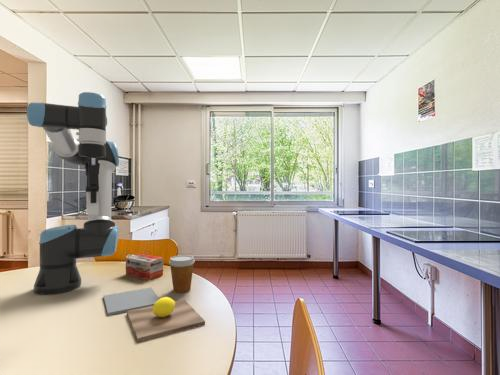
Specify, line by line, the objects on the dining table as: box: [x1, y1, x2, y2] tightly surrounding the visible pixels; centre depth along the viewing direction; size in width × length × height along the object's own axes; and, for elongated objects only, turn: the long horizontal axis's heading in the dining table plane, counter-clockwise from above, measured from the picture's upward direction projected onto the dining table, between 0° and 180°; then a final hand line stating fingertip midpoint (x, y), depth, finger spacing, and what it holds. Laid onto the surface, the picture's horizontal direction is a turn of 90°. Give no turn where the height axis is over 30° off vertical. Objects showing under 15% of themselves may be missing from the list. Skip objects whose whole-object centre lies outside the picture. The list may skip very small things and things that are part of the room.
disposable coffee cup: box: [168, 254, 196, 293], centre depth 108 cm, size 10×10×12 cm
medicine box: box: [125, 253, 164, 281], centre depth 126 cm, size 15×8×8 cm, turn 61°
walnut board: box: [126, 299, 206, 343], centre depth 84 cm, size 18×18×1 cm
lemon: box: [153, 296, 176, 317], centre depth 84 cm, size 7×5×5 cm
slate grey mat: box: [103, 287, 160, 316], centre depth 97 cm, size 16×16×1 cm
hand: (92, 212), depth 89 cm, fingers open, 13 cm apart
